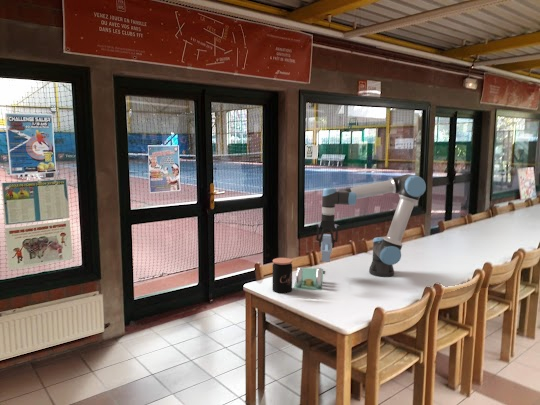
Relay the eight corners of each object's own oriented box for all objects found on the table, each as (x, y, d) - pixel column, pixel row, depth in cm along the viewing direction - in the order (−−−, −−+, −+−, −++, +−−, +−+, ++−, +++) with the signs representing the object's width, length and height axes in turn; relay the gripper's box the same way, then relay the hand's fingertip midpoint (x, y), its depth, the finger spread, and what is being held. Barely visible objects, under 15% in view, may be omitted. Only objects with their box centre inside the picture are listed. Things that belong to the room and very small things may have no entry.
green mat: (323, 270, 267) (323, 268, 267) (321, 292, 228) (321, 290, 227) (299, 269, 269) (299, 267, 269) (293, 290, 230) (293, 288, 230)
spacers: (321, 281, 242) (321, 268, 241) (321, 289, 229) (321, 275, 228) (297, 280, 244) (297, 267, 243) (295, 287, 231) (295, 273, 230)
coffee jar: (280, 297, 220) (280, 264, 218) (268, 291, 229) (268, 259, 226) (295, 293, 227) (296, 260, 224) (283, 287, 235) (284, 256, 233)
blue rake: (330, 250, 254) (331, 234, 253) (330, 262, 228) (331, 244, 227) (322, 249, 255) (323, 233, 253) (321, 261, 229) (322, 243, 227)
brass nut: (313, 284, 238) (313, 279, 237) (313, 286, 233) (313, 281, 233) (304, 283, 238) (304, 278, 238) (304, 286, 234) (304, 281, 234)
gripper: (343, 213, 247) (341, 252, 250) (313, 212, 249) (311, 250, 252) (343, 215, 239) (341, 255, 242) (312, 214, 242) (310, 253, 245)
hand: (326, 252), depth 247 cm, fingers closed on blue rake, 5 cm apart
